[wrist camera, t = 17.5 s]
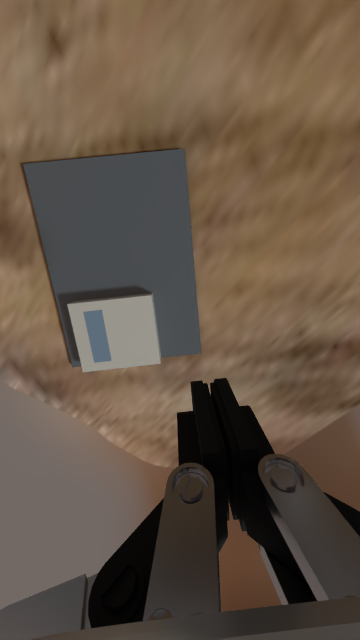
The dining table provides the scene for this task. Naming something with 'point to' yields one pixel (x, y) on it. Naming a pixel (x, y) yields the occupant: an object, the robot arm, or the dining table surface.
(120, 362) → the white flat box
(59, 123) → the dining table surface
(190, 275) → the mat
